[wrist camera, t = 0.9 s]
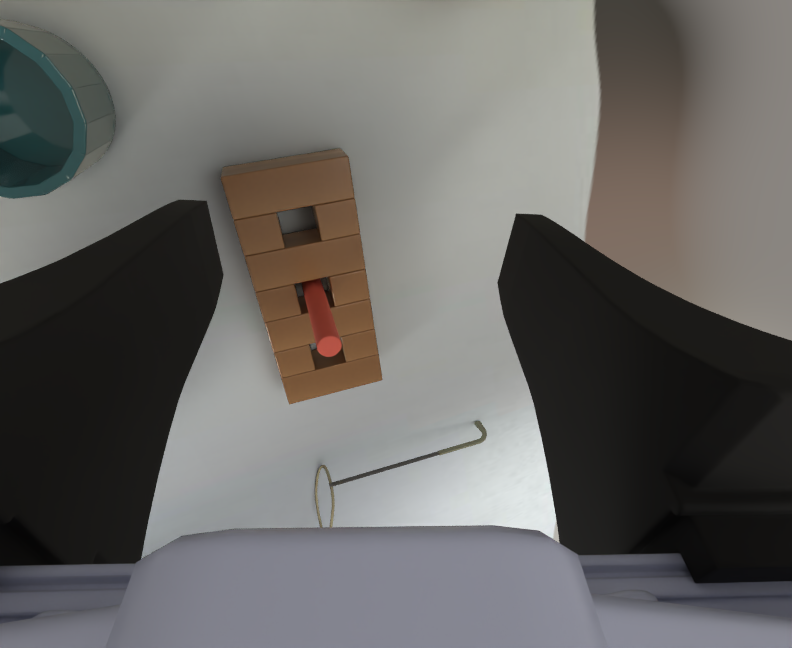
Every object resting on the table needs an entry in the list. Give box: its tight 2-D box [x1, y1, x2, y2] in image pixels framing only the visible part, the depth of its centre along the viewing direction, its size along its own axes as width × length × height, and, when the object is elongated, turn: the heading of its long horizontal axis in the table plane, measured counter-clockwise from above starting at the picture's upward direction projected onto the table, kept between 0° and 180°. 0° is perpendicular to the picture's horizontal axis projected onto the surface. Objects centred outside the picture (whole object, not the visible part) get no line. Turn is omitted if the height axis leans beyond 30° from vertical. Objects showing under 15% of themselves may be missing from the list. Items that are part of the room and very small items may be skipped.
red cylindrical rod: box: [301, 278, 342, 357], centre depth 25 cm, size 1×1×8 cm
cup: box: [0, 19, 116, 199], centre depth 18 cm, size 6×6×5 cm
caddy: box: [221, 148, 382, 404], centre depth 27 cm, size 15×6×2 cm, turn 5°
